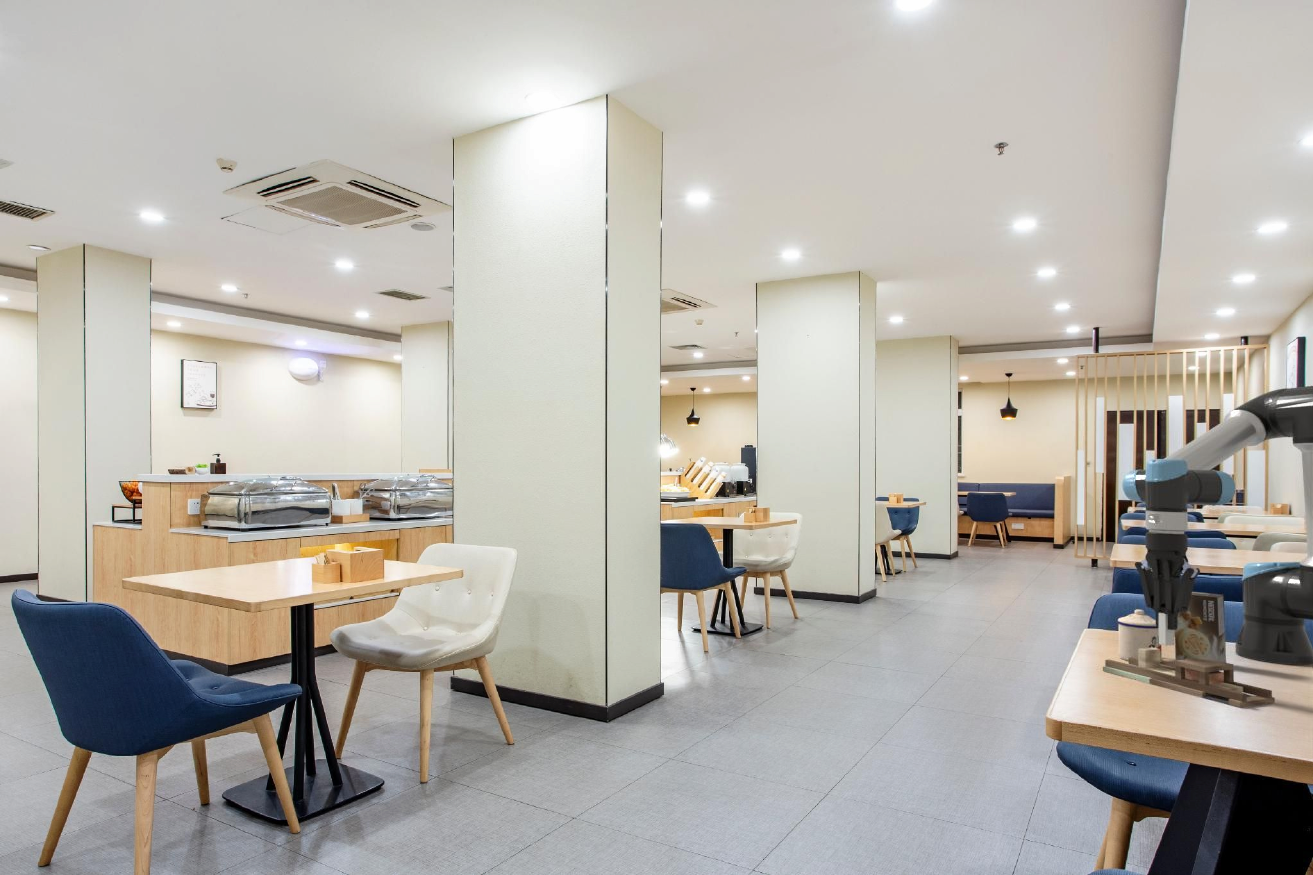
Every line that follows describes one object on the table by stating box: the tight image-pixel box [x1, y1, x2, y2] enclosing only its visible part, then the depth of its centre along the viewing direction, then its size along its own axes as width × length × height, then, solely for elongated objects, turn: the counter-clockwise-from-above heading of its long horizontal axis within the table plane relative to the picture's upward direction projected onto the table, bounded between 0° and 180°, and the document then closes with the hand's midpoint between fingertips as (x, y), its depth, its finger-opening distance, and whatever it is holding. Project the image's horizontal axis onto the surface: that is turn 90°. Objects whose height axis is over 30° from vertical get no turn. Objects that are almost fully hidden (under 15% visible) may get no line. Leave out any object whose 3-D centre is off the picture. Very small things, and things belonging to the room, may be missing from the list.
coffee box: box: [1174, 591, 1227, 663], centre depth 185 cm, size 9×6×16 cm
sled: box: [1138, 648, 1243, 693], centre depth 162 cm, size 4×19×5 cm, turn 21°
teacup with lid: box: [1117, 609, 1163, 663], centre depth 188 cm, size 12×9×12 cm
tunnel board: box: [1102, 657, 1276, 708], centre depth 163 cm, size 10×29×6 cm, turn 21°
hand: (1166, 644), depth 166 cm, fingers closed
